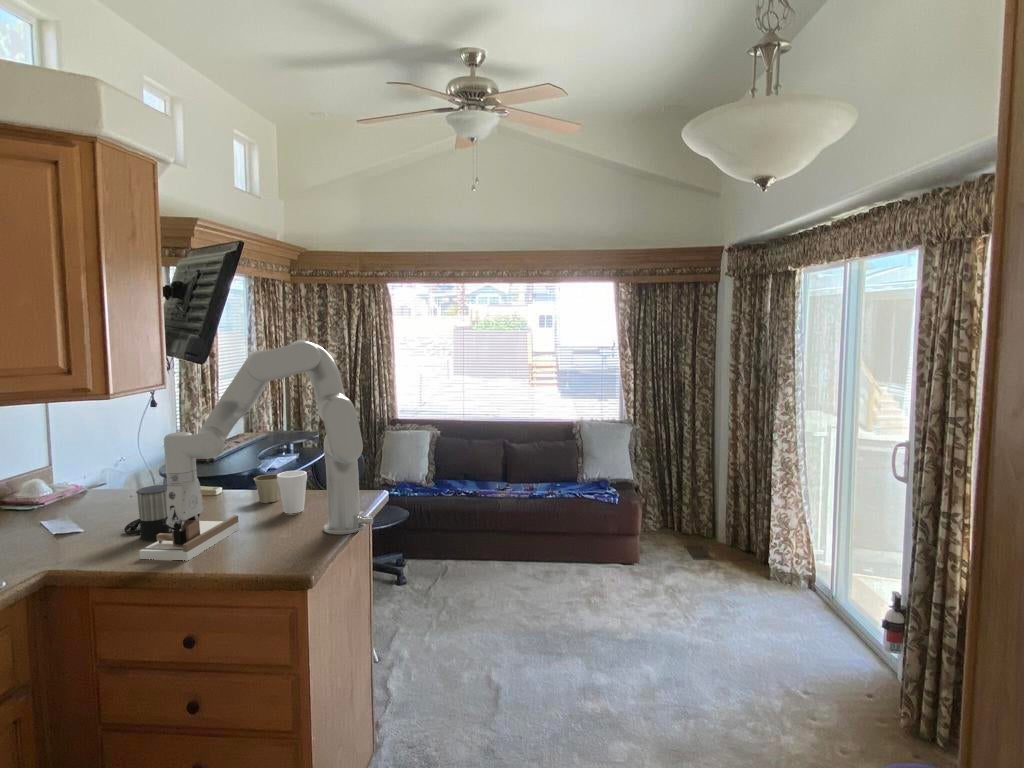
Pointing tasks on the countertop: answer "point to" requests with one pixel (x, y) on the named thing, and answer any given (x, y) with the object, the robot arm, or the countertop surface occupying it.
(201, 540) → the board
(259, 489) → the flower pot
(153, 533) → the milk frother
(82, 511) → the countertop surface
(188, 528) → the wooden block
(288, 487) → the foam cup
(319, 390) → the robot arm
